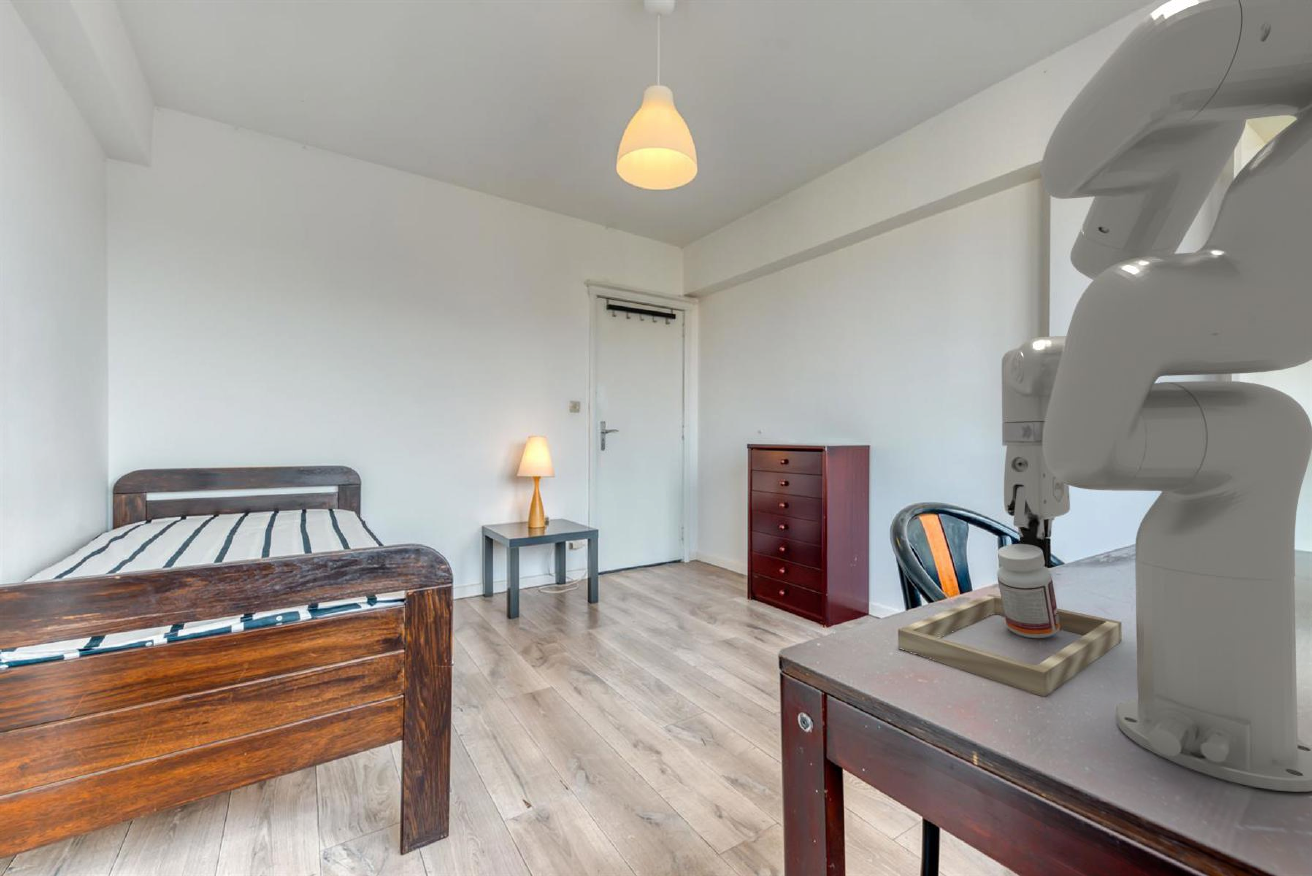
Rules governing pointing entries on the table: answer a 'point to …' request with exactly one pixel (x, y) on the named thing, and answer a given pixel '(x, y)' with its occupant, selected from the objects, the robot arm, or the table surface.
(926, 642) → the tray frame
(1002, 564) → the pill bottle
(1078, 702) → the table surface
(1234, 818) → the table surface
